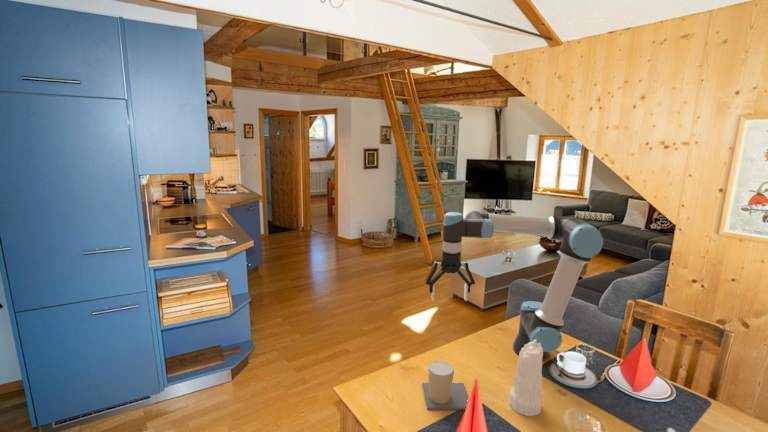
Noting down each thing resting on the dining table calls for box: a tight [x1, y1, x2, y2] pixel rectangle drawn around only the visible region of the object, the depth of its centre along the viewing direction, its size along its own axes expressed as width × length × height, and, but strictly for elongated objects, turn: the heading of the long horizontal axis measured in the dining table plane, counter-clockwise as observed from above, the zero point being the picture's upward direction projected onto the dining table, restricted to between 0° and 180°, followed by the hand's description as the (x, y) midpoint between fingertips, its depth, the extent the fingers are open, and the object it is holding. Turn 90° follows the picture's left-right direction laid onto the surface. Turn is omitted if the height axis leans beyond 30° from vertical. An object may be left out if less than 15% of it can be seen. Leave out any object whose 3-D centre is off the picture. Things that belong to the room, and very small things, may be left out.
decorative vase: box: [508, 340, 543, 417], centre depth 141 cm, size 11×11×25 cm
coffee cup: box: [427, 360, 455, 404], centre depth 145 cm, size 9×9×12 cm
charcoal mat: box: [422, 382, 469, 411], centre depth 147 cm, size 16×14×1 cm
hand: (449, 299), depth 164 cm, fingers open, 13 cm apart
